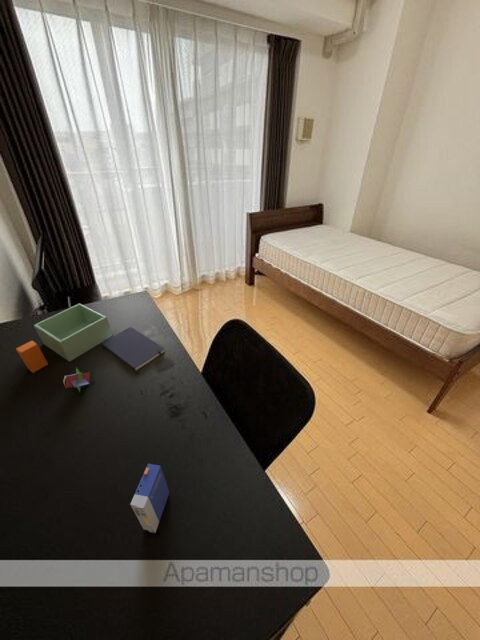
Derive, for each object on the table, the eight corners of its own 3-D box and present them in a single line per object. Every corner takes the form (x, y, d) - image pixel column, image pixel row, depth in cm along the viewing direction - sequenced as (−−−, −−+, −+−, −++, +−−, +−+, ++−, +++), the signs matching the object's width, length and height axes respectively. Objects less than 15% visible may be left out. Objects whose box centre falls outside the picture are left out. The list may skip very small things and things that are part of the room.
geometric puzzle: (92, 367, 93) (69, 360, 86) (100, 378, 89) (77, 372, 82) (78, 386, 92) (54, 380, 86) (86, 398, 88) (62, 393, 82)
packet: (27, 368, 96) (15, 348, 91) (43, 360, 99) (31, 340, 94) (33, 372, 94) (20, 352, 89) (48, 364, 98) (37, 344, 92)
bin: (43, 343, 107) (33, 325, 101) (86, 321, 118) (79, 303, 113) (69, 361, 98) (59, 342, 93) (112, 335, 110) (106, 316, 105)
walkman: (158, 490, 64) (147, 462, 57) (169, 492, 64) (160, 464, 57) (142, 531, 58) (128, 505, 51) (155, 533, 57) (142, 508, 50)
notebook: (102, 345, 105) (135, 371, 94) (100, 342, 104) (134, 368, 93) (131, 329, 113) (165, 351, 102) (130, 326, 112) (165, 348, 101)
